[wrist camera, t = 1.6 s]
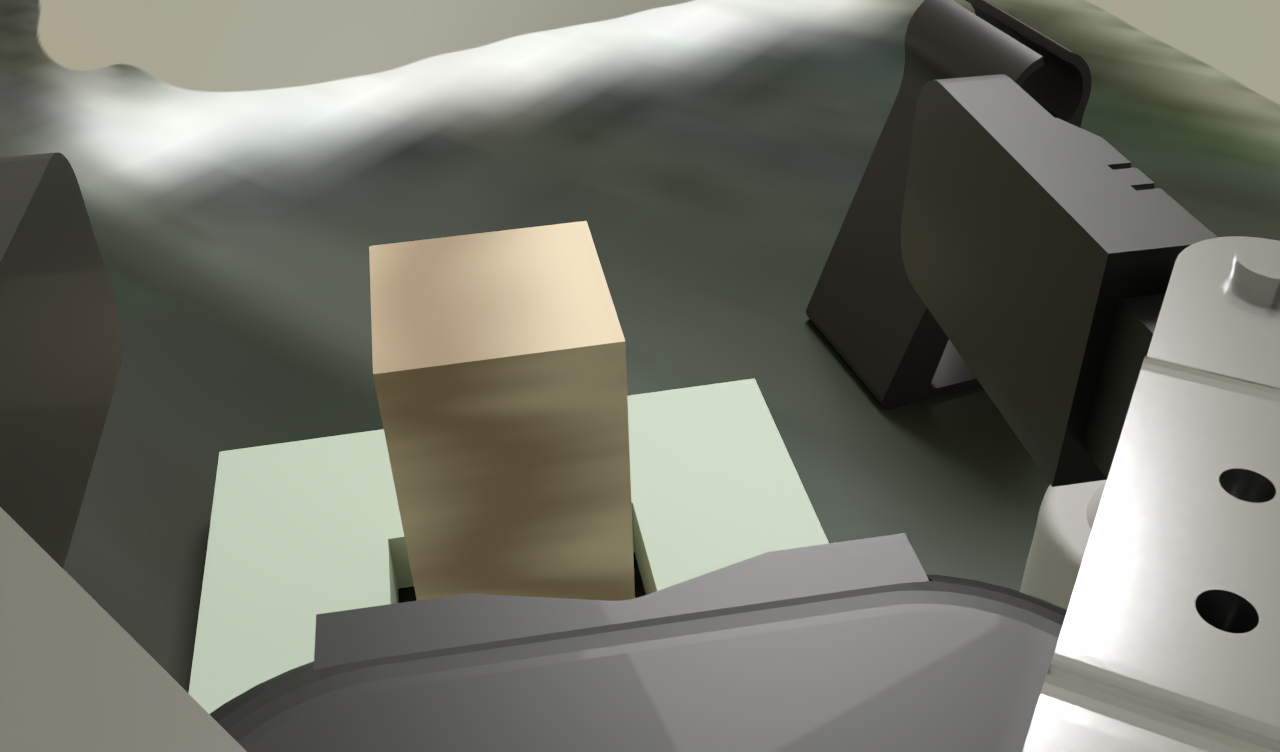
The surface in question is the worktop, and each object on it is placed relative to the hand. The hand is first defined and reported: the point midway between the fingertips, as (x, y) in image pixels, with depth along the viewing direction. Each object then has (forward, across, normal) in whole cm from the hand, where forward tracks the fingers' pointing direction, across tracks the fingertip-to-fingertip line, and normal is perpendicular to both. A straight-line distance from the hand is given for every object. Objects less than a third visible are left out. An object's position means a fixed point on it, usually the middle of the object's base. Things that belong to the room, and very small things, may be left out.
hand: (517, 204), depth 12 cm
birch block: (+12, 0, +20) cm, 24 cm away
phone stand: (+24, -17, +20) cm, 36 cm away
